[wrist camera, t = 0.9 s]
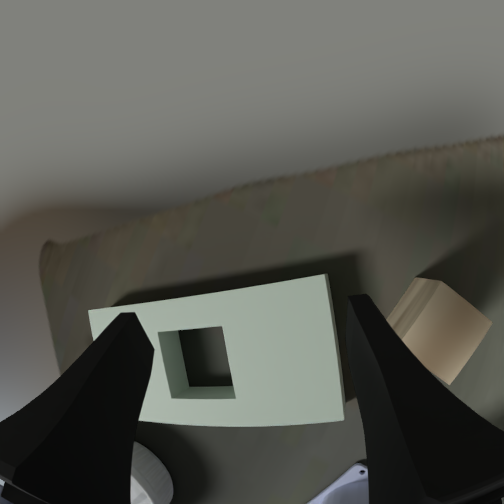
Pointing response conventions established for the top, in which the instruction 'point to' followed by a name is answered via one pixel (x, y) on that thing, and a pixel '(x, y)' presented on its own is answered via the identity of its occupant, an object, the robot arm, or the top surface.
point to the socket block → (245, 355)
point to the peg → (438, 326)
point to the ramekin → (149, 478)
